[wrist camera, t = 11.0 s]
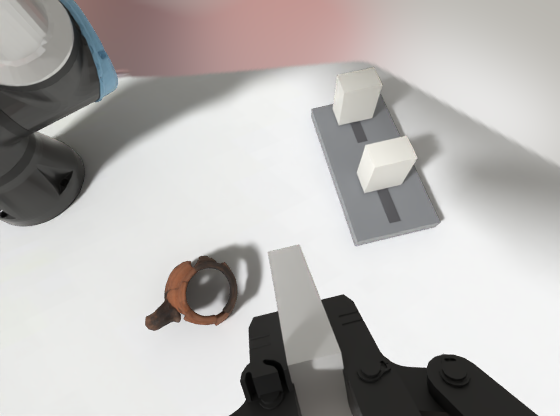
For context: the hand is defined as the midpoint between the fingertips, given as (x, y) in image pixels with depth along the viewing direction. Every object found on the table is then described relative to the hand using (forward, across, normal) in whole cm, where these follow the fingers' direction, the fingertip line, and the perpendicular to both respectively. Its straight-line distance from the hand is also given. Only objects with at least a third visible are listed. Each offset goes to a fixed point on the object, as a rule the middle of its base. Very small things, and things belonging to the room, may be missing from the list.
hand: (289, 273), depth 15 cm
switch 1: (+40, +17, +1) cm, 44 cm away
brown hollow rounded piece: (+26, -12, -17) cm, 33 cm away
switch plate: (+37, +17, -6) cm, 41 cm away
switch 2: (+31, +17, -8) cm, 36 cm away
